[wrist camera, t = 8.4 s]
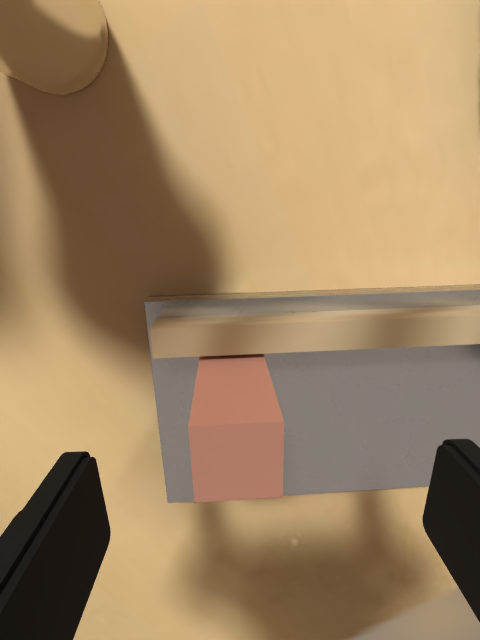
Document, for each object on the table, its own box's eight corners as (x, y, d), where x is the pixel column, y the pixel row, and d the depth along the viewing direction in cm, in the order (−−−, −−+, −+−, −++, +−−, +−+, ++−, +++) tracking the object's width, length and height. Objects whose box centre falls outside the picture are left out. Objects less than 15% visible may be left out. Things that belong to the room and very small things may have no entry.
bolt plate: (600, 280, 17) (629, 284, 16) (543, 463, 21) (563, 478, 20) (149, 296, 16) (143, 302, 15) (170, 486, 20) (167, 504, 19)
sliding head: (261, 348, 16) (283, 421, 10) (262, 419, 17) (282, 519, 11) (200, 351, 16) (188, 426, 10) (205, 422, 17) (196, 525, 11)
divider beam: (612, 300, 16) (838, 346, 10) (580, 398, 18) (759, 487, 12) (156, 318, 15) (114, 380, 9) (167, 420, 17) (138, 529, 11)
